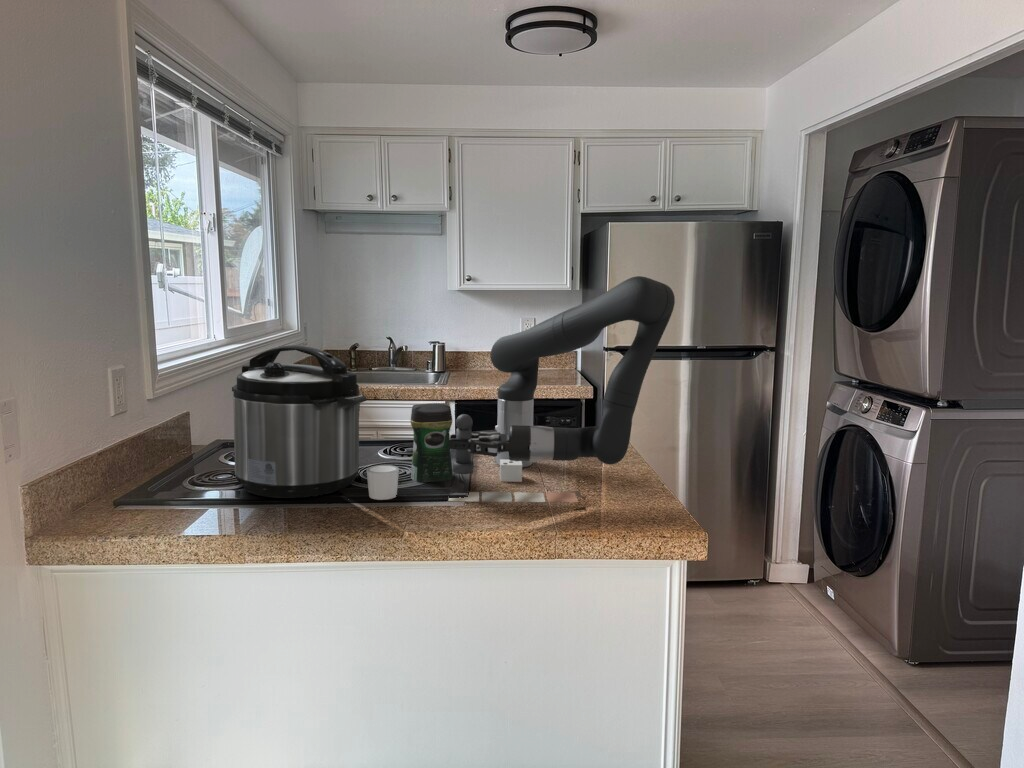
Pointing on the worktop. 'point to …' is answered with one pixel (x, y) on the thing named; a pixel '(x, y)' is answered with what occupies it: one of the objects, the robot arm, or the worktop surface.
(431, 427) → the coffee jar
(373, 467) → the white cup
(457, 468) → the pawn
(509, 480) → the die
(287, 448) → the pressure cooker
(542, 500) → the track board
